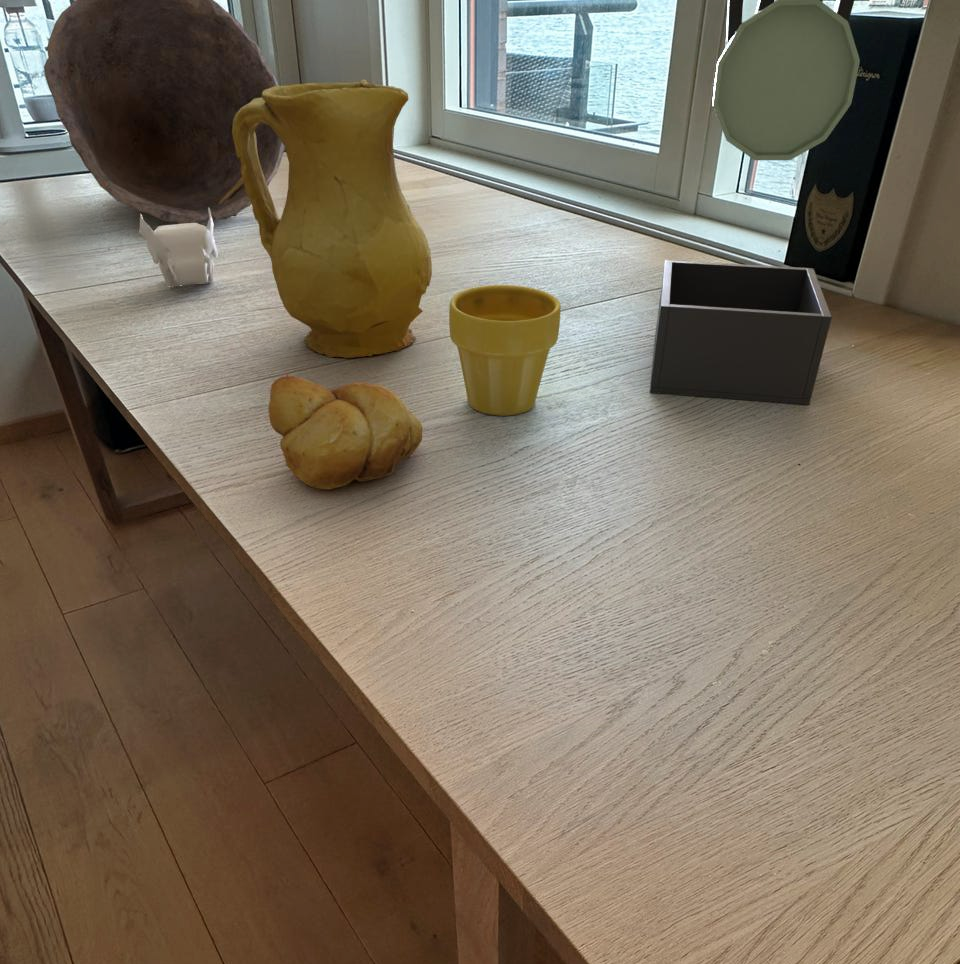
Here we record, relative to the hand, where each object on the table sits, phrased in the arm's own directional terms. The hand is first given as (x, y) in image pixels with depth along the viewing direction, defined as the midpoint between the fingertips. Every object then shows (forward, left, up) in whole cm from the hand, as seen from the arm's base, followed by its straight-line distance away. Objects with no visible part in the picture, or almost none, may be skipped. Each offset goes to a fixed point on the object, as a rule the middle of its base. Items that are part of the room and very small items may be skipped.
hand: (766, 143), depth 84 cm
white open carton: (+70, -9, -20) cm, 73 cm away
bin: (+1, +7, -20) cm, 21 cm away
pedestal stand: (0, -7, +5) cm, 9 cm away
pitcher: (+43, +5, -20) cm, 47 cm away
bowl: (+87, -48, -20) cm, 101 cm away
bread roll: (+33, +36, -20) cm, 53 cm away
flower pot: (+23, +20, -20) cm, 36 cm away
